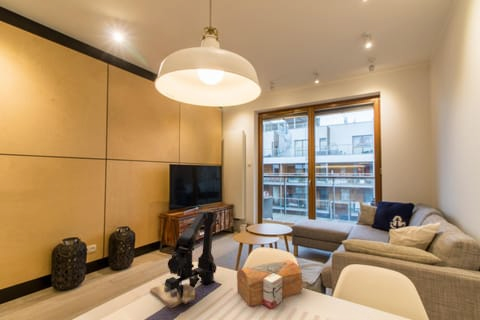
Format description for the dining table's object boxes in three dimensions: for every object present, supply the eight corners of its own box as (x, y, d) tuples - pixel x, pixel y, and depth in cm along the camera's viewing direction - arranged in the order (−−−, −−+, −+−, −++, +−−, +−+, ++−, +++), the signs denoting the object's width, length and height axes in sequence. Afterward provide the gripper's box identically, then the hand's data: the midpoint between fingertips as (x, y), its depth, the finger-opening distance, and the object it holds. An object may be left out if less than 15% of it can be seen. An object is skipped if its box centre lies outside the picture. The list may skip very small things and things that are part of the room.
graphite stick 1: (175, 286, 121) (175, 282, 121) (177, 288, 120) (177, 284, 120) (164, 291, 117) (164, 286, 117) (166, 292, 116) (166, 288, 116)
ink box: (271, 309, 104) (271, 282, 104) (262, 304, 107) (263, 278, 108) (282, 301, 110) (282, 276, 110) (274, 297, 114) (274, 272, 114)
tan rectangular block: (186, 293, 113) (186, 283, 113) (194, 299, 108) (194, 288, 109) (177, 297, 110) (177, 287, 110) (185, 303, 105) (185, 292, 105)
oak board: (174, 282, 129) (174, 279, 129) (195, 296, 115) (196, 293, 115) (150, 291, 119) (150, 288, 119) (170, 308, 105) (170, 305, 105)
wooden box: (250, 309, 105) (250, 278, 105) (236, 291, 120) (236, 264, 120) (304, 295, 116) (304, 267, 117) (285, 280, 131) (285, 256, 132)
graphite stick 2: (181, 290, 117) (181, 286, 117) (183, 292, 116) (183, 288, 116) (170, 295, 113) (170, 291, 113) (172, 297, 112) (172, 293, 112)
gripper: (192, 252, 122) (192, 283, 121) (159, 263, 108) (158, 297, 108) (206, 258, 114) (205, 291, 114) (171, 270, 101) (171, 307, 100)
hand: (185, 296), depth 109 cm, fingers closed on tan rectangular block, 5 cm apart
